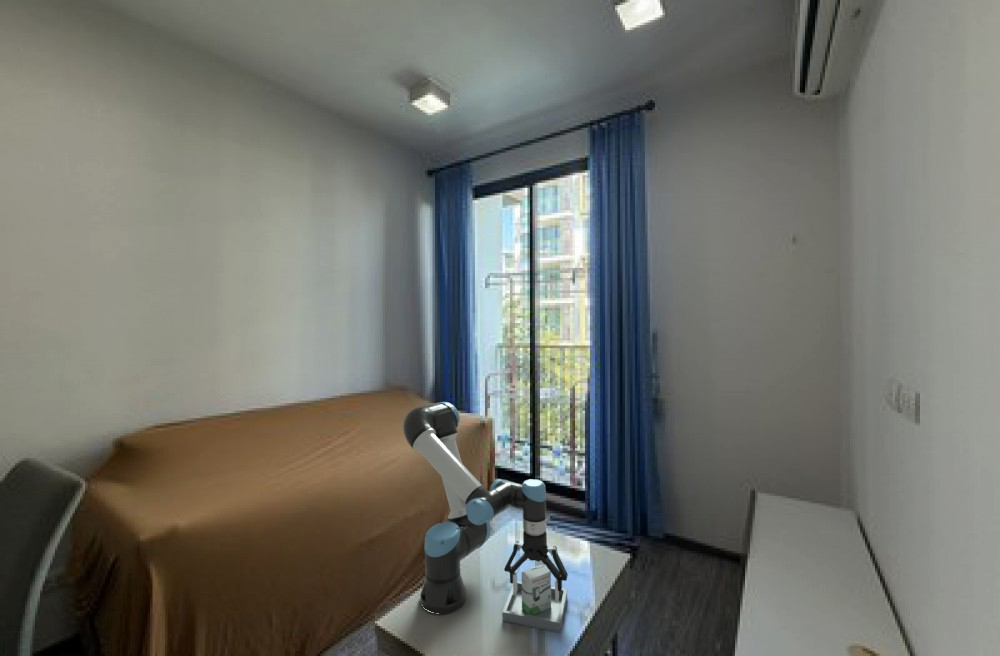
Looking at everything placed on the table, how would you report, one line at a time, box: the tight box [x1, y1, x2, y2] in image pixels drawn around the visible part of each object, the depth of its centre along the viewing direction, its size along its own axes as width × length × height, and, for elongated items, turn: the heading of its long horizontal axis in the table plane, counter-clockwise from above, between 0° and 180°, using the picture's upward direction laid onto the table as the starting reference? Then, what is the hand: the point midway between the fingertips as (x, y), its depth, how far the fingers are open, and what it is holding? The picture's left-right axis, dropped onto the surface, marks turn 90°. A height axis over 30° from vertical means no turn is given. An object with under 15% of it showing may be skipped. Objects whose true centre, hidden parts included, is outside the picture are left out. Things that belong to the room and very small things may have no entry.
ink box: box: [521, 564, 552, 615], centre depth 131 cm, size 9×5×12 cm, turn 121°
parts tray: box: [501, 580, 568, 634], centre depth 131 cm, size 18×16×3 cm
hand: (535, 596), depth 131 cm, fingers open, 13 cm apart
